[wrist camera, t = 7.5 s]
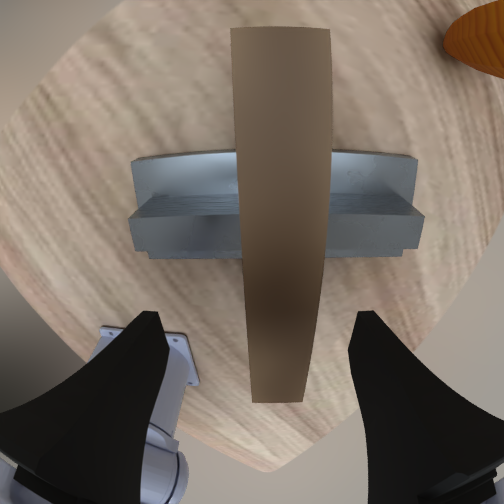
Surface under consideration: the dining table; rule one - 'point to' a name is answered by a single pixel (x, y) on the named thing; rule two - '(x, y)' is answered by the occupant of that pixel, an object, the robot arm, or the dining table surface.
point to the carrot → (479, 39)
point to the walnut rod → (282, 196)
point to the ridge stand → (227, 205)
